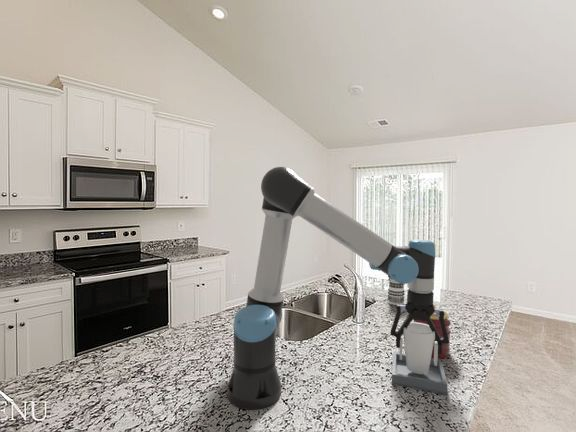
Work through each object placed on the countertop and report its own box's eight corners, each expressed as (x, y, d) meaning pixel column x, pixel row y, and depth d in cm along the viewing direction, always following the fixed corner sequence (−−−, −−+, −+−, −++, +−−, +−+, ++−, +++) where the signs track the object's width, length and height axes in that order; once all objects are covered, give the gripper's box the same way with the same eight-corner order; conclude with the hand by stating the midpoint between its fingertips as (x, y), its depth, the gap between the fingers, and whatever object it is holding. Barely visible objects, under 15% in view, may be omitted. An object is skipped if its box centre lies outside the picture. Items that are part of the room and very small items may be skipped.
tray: (447, 394, 91) (447, 384, 91) (391, 384, 96) (391, 374, 96) (441, 368, 106) (441, 360, 105) (393, 360, 111) (393, 352, 110)
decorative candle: (383, 300, 177) (384, 255, 176) (397, 299, 180) (399, 255, 179) (393, 305, 168) (395, 258, 167) (408, 304, 171) (409, 257, 170)
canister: (445, 345, 123) (447, 300, 122) (453, 362, 110) (455, 311, 109) (409, 341, 126) (410, 297, 125) (412, 356, 114) (414, 307, 113)
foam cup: (437, 378, 95) (438, 335, 95) (404, 374, 97) (405, 332, 97) (429, 362, 105) (431, 323, 104) (399, 359, 106) (401, 321, 106)
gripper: (458, 290, 99) (455, 361, 101) (383, 283, 107) (381, 349, 108) (462, 297, 92) (459, 373, 94) (382, 289, 100) (380, 359, 101)
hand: (417, 360), depth 101 cm, fingers closed on foam cup, 9 cm apart
